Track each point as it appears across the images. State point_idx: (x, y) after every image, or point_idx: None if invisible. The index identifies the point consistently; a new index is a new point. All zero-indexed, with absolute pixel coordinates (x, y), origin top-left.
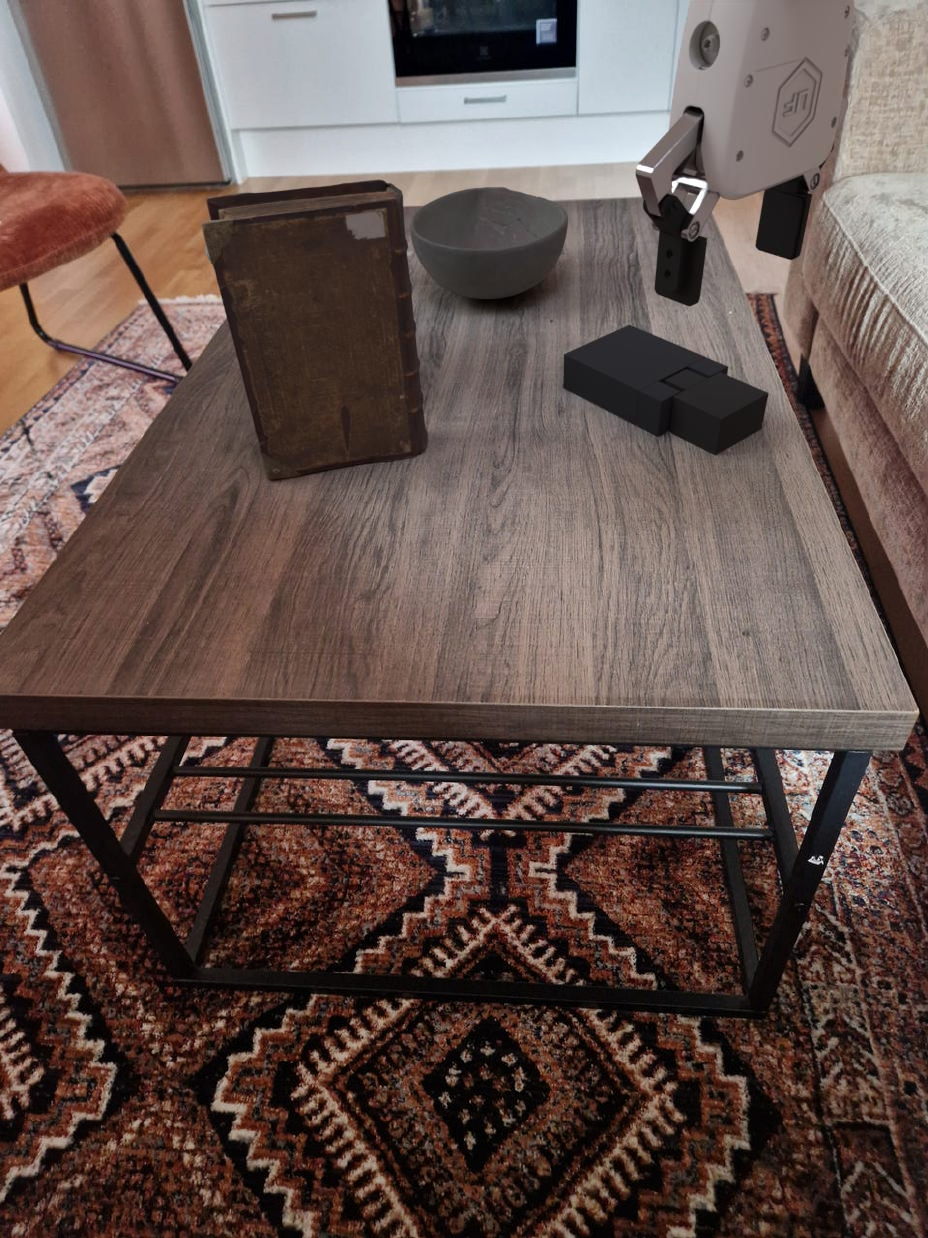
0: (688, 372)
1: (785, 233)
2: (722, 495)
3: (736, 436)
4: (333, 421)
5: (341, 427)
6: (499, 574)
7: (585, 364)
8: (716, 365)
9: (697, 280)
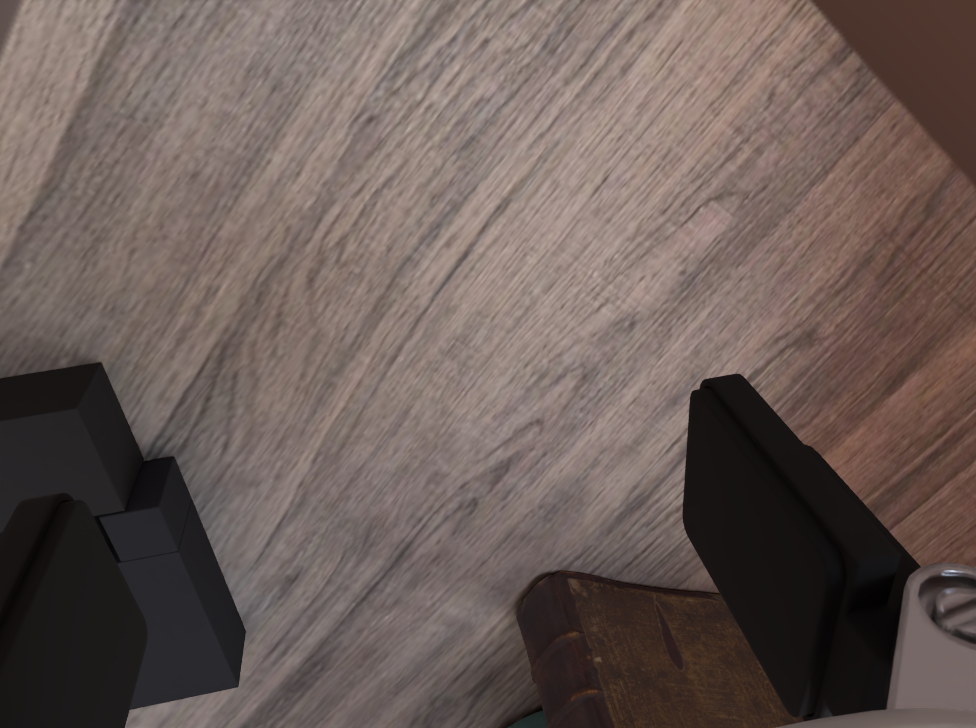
0: None
1: (70, 613)
2: (168, 256)
3: (31, 381)
4: (689, 650)
5: (675, 638)
6: (640, 282)
7: (221, 650)
8: None
9: (778, 428)
